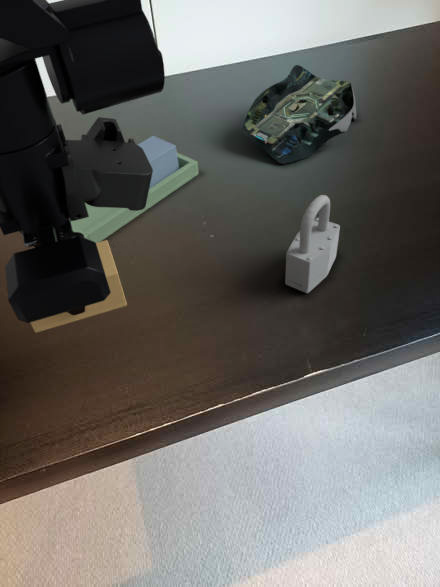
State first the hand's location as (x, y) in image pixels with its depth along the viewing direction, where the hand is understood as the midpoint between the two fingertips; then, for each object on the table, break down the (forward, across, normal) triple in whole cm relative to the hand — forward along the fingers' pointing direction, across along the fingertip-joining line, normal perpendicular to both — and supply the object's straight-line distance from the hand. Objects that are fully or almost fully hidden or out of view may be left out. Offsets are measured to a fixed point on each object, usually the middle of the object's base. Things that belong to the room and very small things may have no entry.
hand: (74, 293), depth 46 cm
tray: (+10, +27, -8) cm, 30 cm away
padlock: (+11, +4, -25) cm, 28 cm away
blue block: (+10, +29, -12) cm, 33 cm away
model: (+11, +32, -38) cm, 51 cm away
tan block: (+1, 0, 0) cm, 1 cm away
